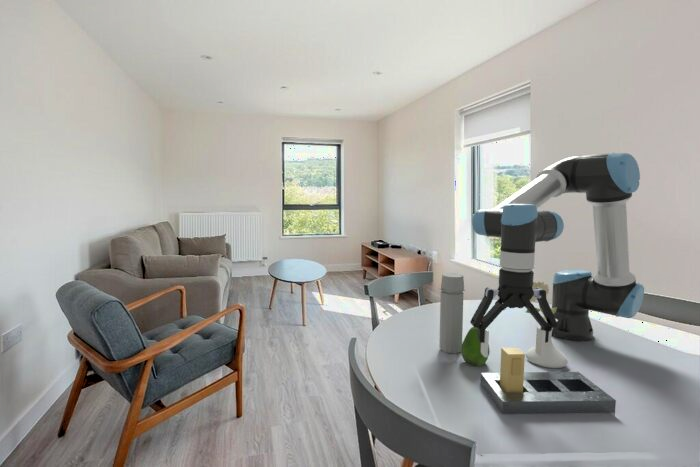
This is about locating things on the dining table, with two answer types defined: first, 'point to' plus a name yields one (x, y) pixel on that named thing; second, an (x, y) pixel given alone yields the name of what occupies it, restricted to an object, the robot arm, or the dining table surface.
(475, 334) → the avocado
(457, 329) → the water bottle
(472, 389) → the dining table surface
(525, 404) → the jack panel
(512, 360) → the yellow tall block
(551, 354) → the flower in vase
